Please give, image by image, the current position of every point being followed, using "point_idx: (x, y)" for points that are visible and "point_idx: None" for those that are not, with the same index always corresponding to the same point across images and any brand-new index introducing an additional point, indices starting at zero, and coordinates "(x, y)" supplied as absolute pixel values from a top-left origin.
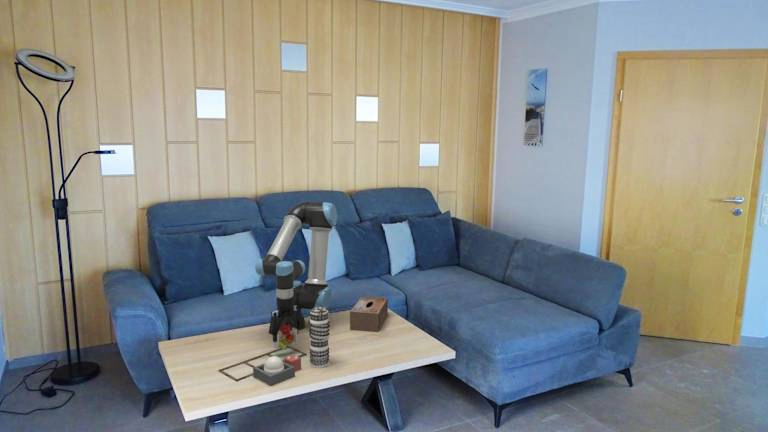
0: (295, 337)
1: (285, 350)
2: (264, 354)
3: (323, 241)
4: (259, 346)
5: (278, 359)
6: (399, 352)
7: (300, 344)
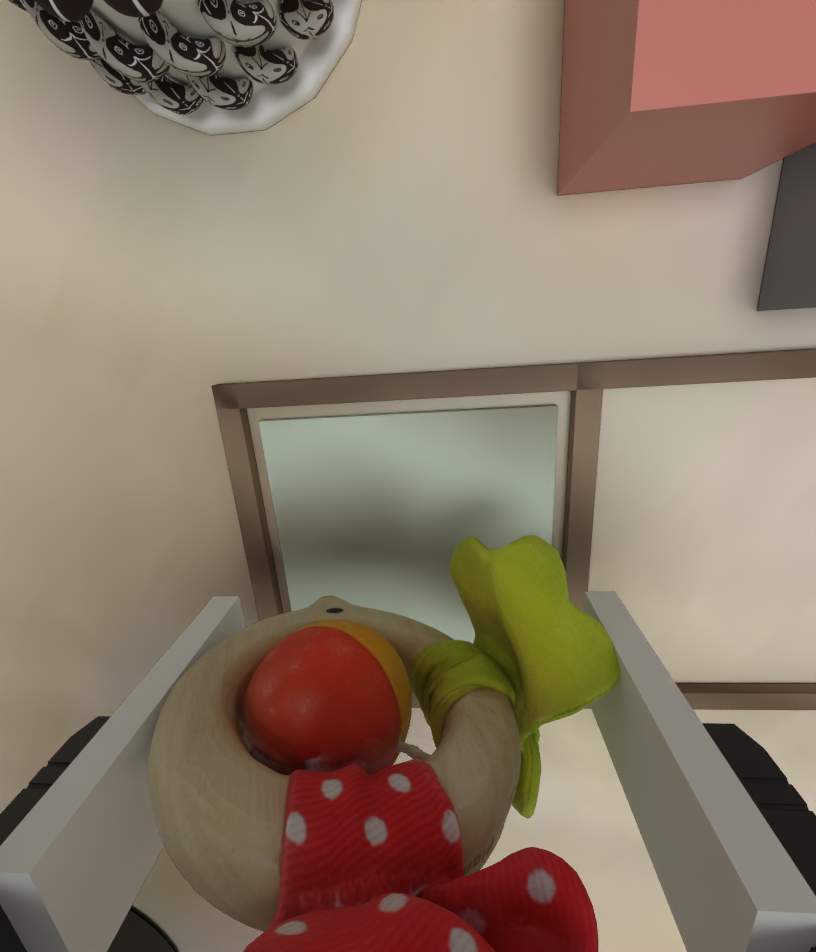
0: (199, 664)
1: None
2: None
3: None
4: (492, 852)
5: None
6: None
7: (150, 658)
